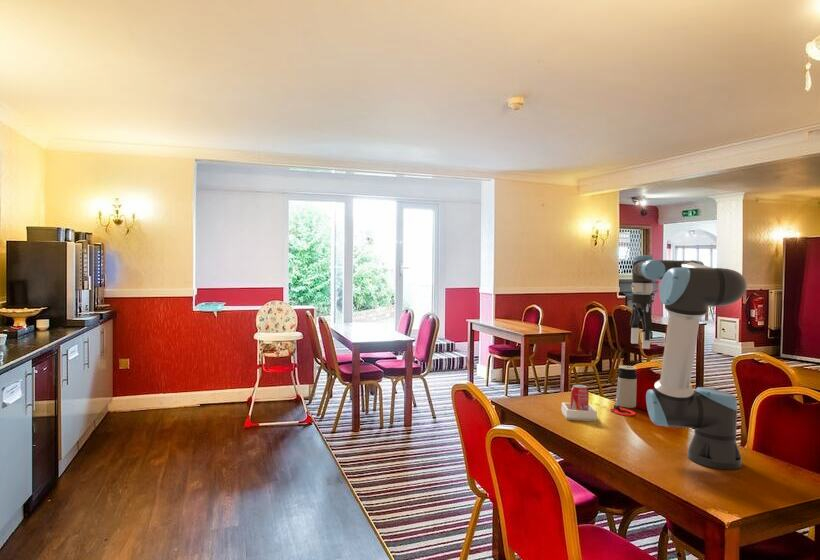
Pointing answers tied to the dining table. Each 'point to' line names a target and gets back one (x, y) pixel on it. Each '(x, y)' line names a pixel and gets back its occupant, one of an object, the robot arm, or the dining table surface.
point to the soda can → (579, 397)
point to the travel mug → (627, 386)
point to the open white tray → (579, 413)
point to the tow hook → (617, 407)
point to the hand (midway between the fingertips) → (640, 346)
